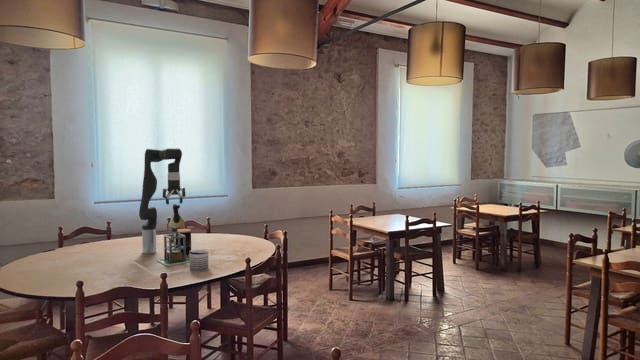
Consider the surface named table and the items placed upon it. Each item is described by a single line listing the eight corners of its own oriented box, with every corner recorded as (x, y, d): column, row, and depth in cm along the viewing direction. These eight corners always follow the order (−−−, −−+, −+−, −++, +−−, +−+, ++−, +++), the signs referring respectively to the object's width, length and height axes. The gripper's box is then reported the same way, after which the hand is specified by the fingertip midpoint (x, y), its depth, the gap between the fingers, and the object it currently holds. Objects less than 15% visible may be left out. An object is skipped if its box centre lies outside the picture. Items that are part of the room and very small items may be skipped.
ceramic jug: (170, 238, 363) (169, 202, 361) (188, 237, 365) (188, 202, 363) (165, 242, 346) (164, 205, 344) (184, 242, 348) (184, 205, 346)
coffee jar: (186, 257, 298) (186, 231, 297) (172, 256, 300) (172, 231, 299) (194, 254, 309) (193, 229, 308) (180, 253, 311) (180, 228, 310)
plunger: (168, 251, 285) (167, 227, 284) (178, 250, 289) (177, 225, 288) (171, 253, 279) (171, 228, 278) (182, 252, 284) (181, 227, 283)
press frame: (163, 260, 285) (163, 235, 284) (180, 258, 292) (179, 233, 291) (169, 264, 277) (169, 237, 276) (186, 261, 284) (186, 235, 283)
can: (185, 269, 269) (185, 250, 268) (201, 265, 278) (201, 247, 277) (196, 273, 262) (196, 253, 261) (212, 269, 271) (212, 250, 270)
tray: (157, 262, 285) (157, 259, 285) (183, 258, 297) (183, 255, 296) (165, 267, 273) (165, 264, 273) (193, 263, 284) (193, 260, 284)
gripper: (182, 178, 288) (182, 202, 289) (160, 179, 279) (161, 204, 280) (186, 179, 282) (187, 203, 284) (164, 179, 273) (165, 205, 275)
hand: (174, 204), depth 282 cm, fingers open, 8 cm apart
